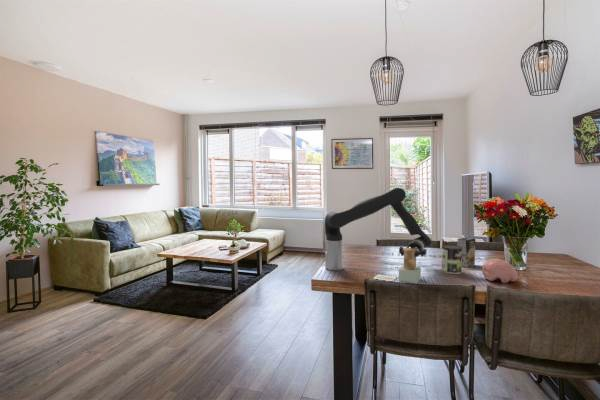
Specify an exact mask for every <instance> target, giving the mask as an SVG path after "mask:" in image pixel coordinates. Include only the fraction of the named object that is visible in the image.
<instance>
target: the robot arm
mask: <svg viewBox="0 0 600 400" xmlns="http://www.w3.org/2000/svg"><path fill="white" fill-rule="evenodd" d="M406 196H407V195H406V191H405V190H404V188H401V187H394V188H393V189H391V190H389V191H387V192H385V193H383V194H380V195H376V196H373V197H371V198H367V199H365V200H362V201H359V202H358V203H356V204H354V205H353V206H352V207H351V208H349V209H346V210H344V211H341V212H335V211H329V212H328V213H327V214H326V216H325V217H324V234H325V236H326V251H325V253H324V256H325V257H324V263H325V264H324V265H325V268H324V269H326V270H329V271H341V270H342V269H343V235H342V232H341V228H343V227H344V226H346V225H348V224H350V223H352V222H355V221H358V220H361V219H363V218H365V217H368V216H371V215H374V214H375V213H377V212H380V211H381V210H382V209H385V208H386V207H388V206H391V207H392V209H393V210H394V211H395V212H396V214H397V215H398V217H399V219H400V220H401V221H402V224H403V225H404V226H405V227H406V230H407V231H408V233H409V235H410V236H415V235H418V237H415V238H414V239H413V240H412V241H411V242H410V243H408V245H407V246H406V247H403V246H399V248H398V253H399V254H400V255H401V256H404V249H406V248H412V249H416V252H415V257H416V258H417V257H420V256H421V257H424V256H425V255H427V248H428V247H430V246H431V244H432V240H431V238H430V237H429V236H428V235H427V234H426V232H424V230H422V228H421V227H420V225H419V224H418V222H417V220H416V218H415V217H414V216H413V215H412V214H411V213H410V212H409V211H408V210H407V208H405V206H404V204H403V203H402V202H404V200H405V198H406Z"/></svg>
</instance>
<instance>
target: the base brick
mask: <svg viewBox="0 0 600 400" xmlns="http://www.w3.org/2000/svg"><path fill="white" fill-rule="evenodd" d="M421 269H422V268H421V267H420V266H416V268H415V269H414V270H408V269H404V264H403V265H401V267H400V268H398V281H399V282H404V283H410V284H411V283H412V284H418V283H419V281H420V280H421V279H420V278H421V275H422V273H421V271H422V270H421Z"/></svg>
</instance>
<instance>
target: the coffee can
mask: <svg viewBox="0 0 600 400" xmlns="http://www.w3.org/2000/svg"><path fill="white" fill-rule="evenodd" d="M462 267H463V266H462V247H460V246H457V245H455V244H445V245H441V272H443V271H444V272H443V273H445V272H446V273H445V274H449V273H450V274H452V275H460V274H462ZM450 274H449V275H450Z"/></svg>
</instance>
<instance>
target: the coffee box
mask: <svg viewBox="0 0 600 400" xmlns="http://www.w3.org/2000/svg"><path fill="white" fill-rule="evenodd" d="M456 246H460V247H462V266H461V267H462V268H463V267H464V268H469V267H472V266H475V264H476V263H475V262H476V238H473V237H466V236H465V237H460V238H457V245H456Z"/></svg>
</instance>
